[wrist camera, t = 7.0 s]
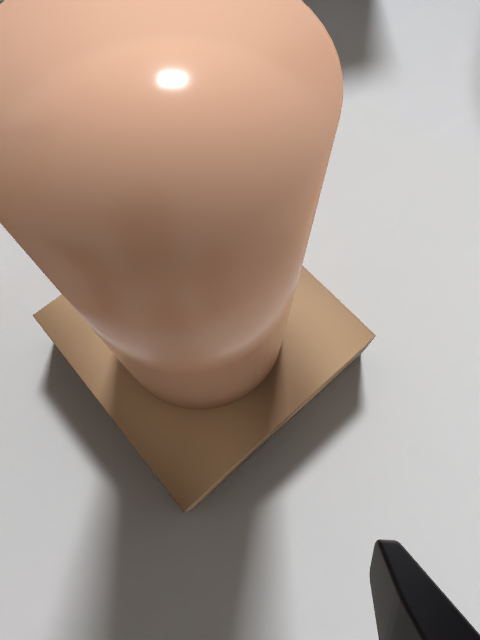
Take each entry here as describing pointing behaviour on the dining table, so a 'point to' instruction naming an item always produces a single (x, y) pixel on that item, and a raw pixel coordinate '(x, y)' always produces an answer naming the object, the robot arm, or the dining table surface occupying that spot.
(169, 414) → the base board
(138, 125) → the peach domed cylinder
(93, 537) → the dining table surface
